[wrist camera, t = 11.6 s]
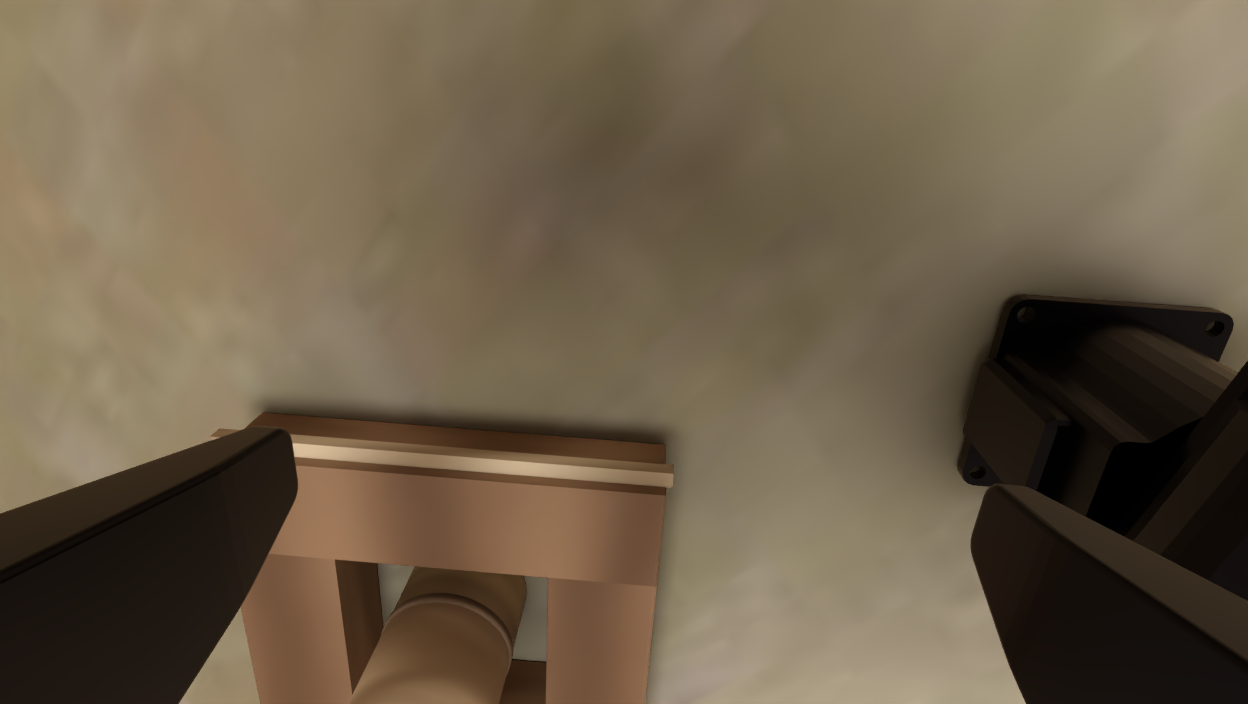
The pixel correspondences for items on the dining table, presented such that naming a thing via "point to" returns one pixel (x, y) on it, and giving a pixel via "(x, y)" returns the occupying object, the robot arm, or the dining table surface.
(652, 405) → the dining table surface
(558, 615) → the socket board
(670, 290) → the dining table surface
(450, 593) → the peg
